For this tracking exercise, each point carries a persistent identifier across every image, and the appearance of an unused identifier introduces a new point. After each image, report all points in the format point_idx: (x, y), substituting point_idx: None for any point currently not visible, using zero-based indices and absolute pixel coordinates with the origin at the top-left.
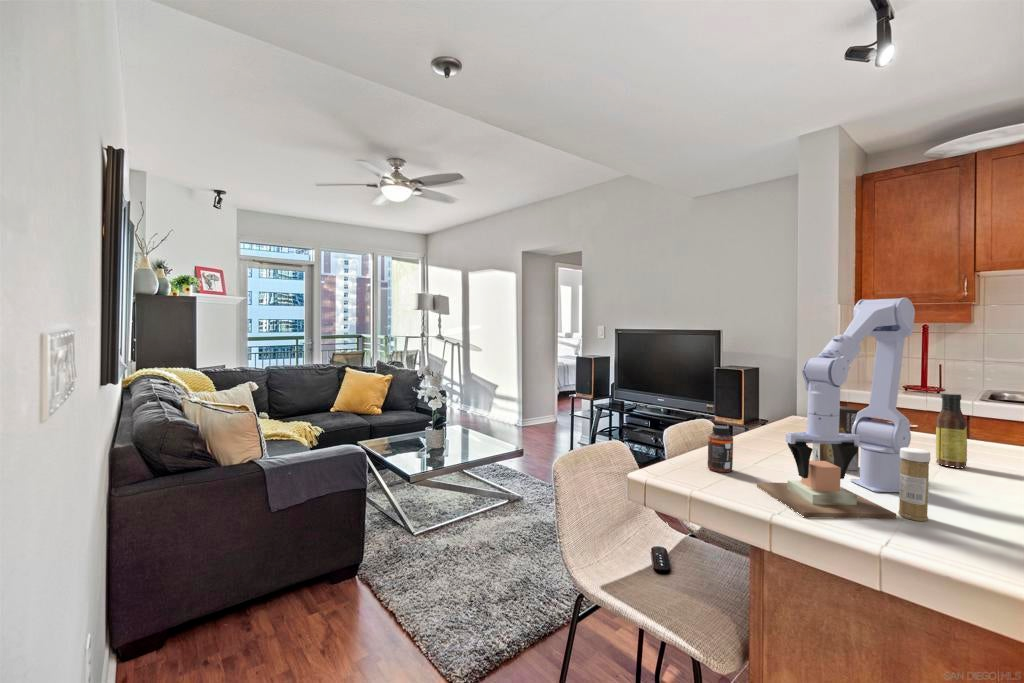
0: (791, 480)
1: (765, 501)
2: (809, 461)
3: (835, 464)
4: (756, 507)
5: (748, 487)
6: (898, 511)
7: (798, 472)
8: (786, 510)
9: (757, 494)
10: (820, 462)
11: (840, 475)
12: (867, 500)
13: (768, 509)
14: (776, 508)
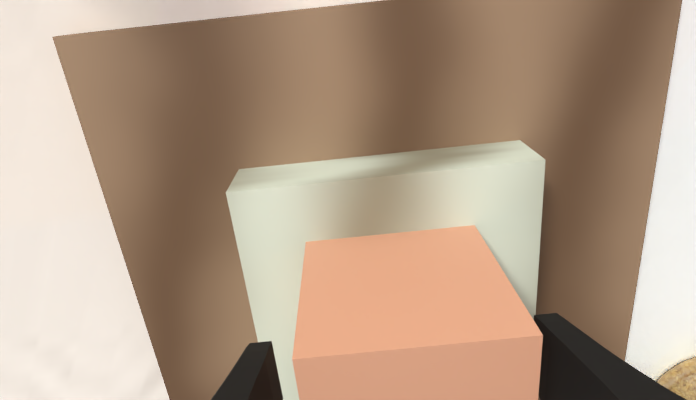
0: (256, 190)
1: (75, 302)
2: (353, 379)
3: (583, 386)
4: (14, 382)
5: (7, 60)
6: (670, 379)
7: (240, 357)
8: (152, 395)
9: (49, 198)
10: (449, 395)
11: (539, 389)
12: (626, 293)
13: (68, 396)
14: (110, 380)
